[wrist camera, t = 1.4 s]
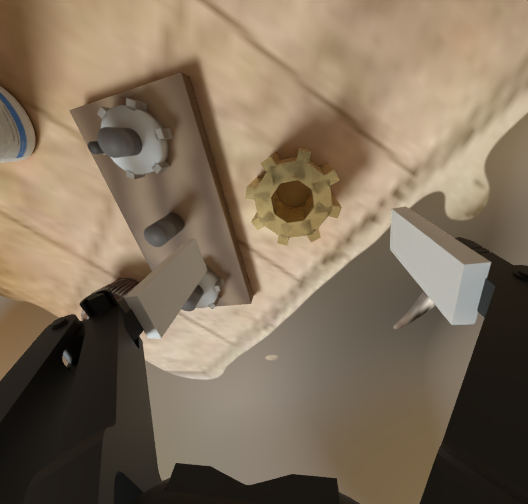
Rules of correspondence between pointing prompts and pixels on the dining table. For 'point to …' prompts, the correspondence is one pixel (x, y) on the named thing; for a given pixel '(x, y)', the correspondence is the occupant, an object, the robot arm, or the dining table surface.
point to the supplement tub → (14, 130)
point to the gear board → (167, 181)
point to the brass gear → (299, 217)
